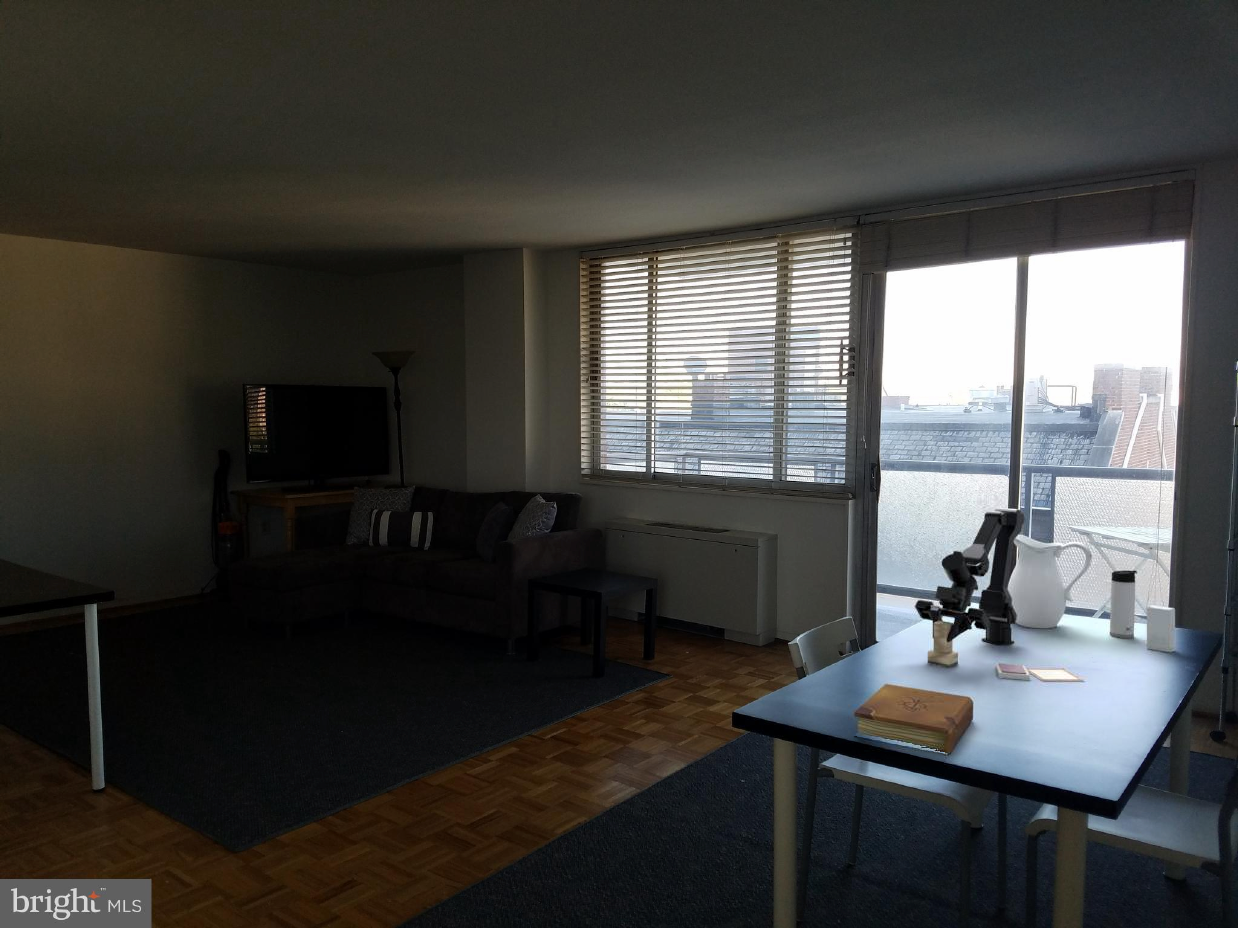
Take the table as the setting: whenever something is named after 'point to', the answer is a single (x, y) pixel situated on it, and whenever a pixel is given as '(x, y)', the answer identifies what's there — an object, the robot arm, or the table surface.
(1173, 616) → the skincare box
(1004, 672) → the ink pad
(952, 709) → the diary
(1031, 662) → the table surface
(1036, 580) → the pitcher
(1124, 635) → the travel mug
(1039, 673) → the marked card
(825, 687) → the table surface
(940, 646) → the stamp
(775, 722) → the table surface
